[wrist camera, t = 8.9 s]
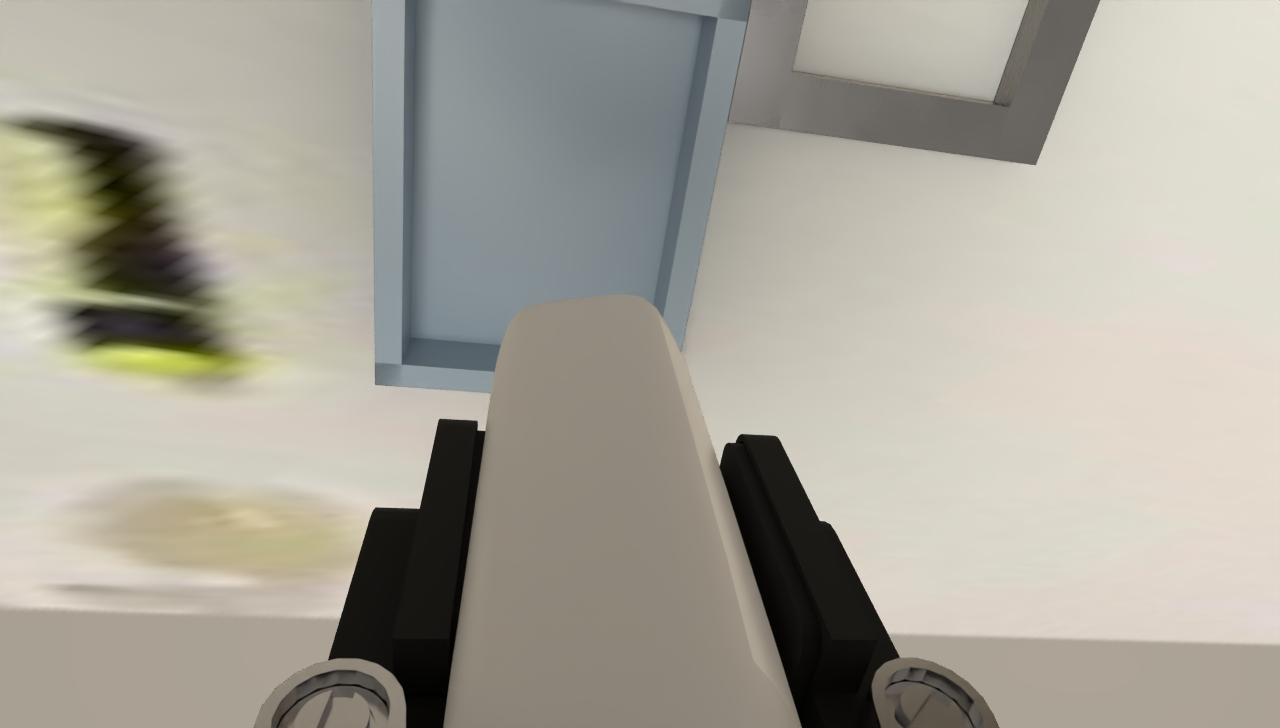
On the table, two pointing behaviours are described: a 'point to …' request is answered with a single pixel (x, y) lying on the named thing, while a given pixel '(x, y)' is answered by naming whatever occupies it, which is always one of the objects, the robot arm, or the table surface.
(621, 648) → the eye dropper bottle
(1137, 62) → the table surface
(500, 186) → the tray
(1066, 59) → the gray square frame
